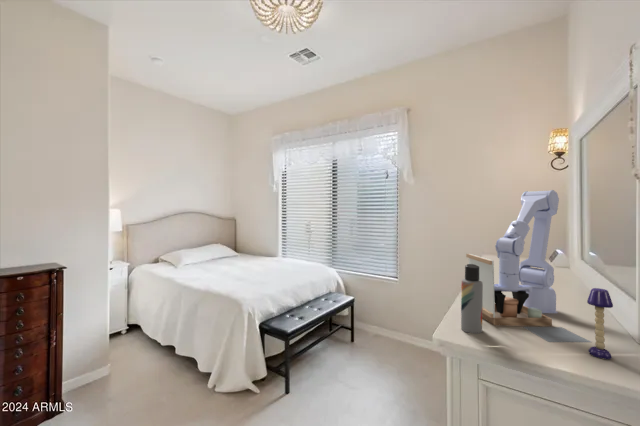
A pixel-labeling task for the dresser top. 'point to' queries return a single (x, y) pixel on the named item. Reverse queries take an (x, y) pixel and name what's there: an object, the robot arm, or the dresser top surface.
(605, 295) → the toy lamp
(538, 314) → the pale green egg
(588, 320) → the dresser top surface
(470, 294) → the lotion bottle
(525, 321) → the wooden tray
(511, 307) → the terracotta pot
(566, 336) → the mat
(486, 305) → the lid
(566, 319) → the dresser top surface
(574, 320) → the dresser top surface
